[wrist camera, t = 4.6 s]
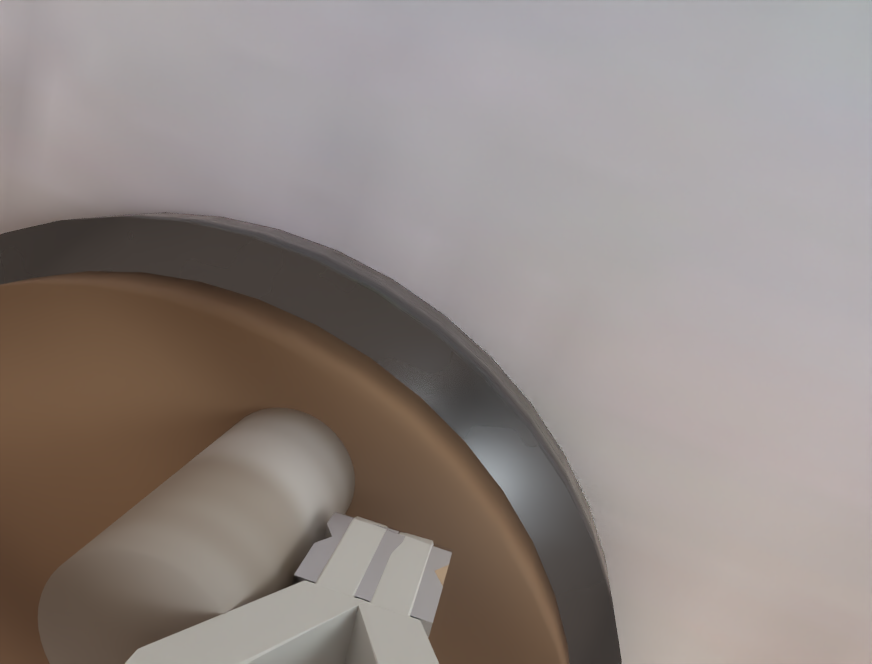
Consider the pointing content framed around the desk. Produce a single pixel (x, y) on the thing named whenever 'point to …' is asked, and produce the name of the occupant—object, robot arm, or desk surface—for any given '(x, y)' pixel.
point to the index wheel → (223, 473)
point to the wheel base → (389, 347)
